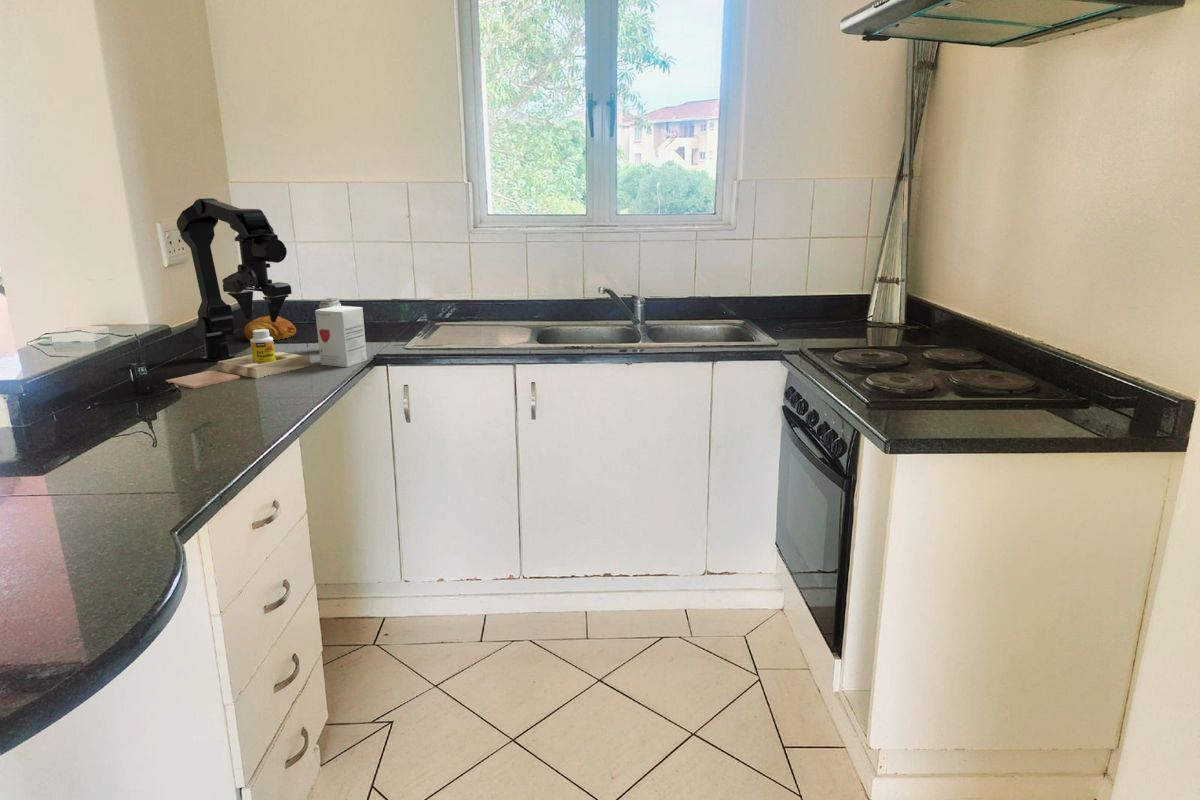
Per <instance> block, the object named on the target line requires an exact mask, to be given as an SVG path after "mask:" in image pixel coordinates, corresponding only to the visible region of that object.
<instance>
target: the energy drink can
mask: <svg viewBox="0 0 1200 800" xmlns="http://www.w3.org/2000/svg"><path fill="white" fill-rule="evenodd" d="M332 306H342V304H341V302H340V300H339V298H337V297H327V298H326V297H325V298H321V299H320V302H319V305H318V309H323V308H328V307H332Z"/></svg>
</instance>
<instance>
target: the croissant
mask: <svg viewBox="0 0 1200 800" xmlns="http://www.w3.org/2000/svg"><path fill="white" fill-rule="evenodd" d="M258 329H268V330H269V336H270V337H272V338H273V340H278V341H281V340H280V339H283V340H286V339H285V338H287V339H290V338H289V337H291V336H292V337H294V336H295V334H296V333H297V328H296V327H295V325H294V324H293V323H292V322H291V321H290V320H287V319H286V318H283V317H282V316H280V315H278V317H277V320H276V322H273V323H272V322H271V319H270V315H266V316H260V317H258V318H255V319H253V320H251V321H250V322H248V323H247V324H246V325H245V327H244V328H243V332H244V336H245V338H246V339H247V340H249V341H250V340H251V338H253V332H252V331H254V330H258ZM292 337H291V338H292Z"/></svg>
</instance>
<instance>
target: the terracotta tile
mask: <svg viewBox="0 0 1200 800" xmlns="http://www.w3.org/2000/svg"><path fill="white" fill-rule="evenodd" d="M237 379H241V375H237V374H232V373H227V372H222V371H217V370H214V369H213V370H207V371H202V372H198V373H193V374H189V375H183V376H180V377H174V378H170V379H165V383H166V382H168V383H167V384H170V383H174V384H173V385H175V384H176V386H179V387H180V386H181V387H184V388H185V387H186V388H190V389H199V388H203V387H208V386H213V385H215V384H216V385H217V384H222V383H226V382H228V381H235V380H237Z"/></svg>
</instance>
